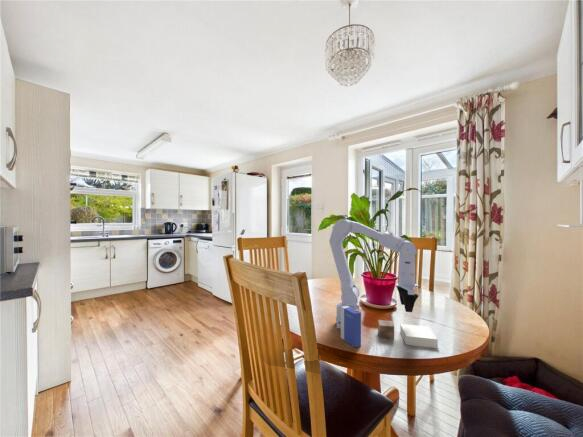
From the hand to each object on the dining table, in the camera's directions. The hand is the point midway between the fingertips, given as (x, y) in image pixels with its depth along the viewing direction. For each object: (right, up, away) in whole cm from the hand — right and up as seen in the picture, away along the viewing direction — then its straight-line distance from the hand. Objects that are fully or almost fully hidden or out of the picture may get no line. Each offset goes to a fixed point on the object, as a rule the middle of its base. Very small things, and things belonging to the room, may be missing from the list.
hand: (406, 308), depth 94 cm
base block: (+2, -10, -4) cm, 11 cm away
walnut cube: (-8, -10, -1) cm, 13 cm away
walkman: (-23, -10, -6) cm, 26 cm away
